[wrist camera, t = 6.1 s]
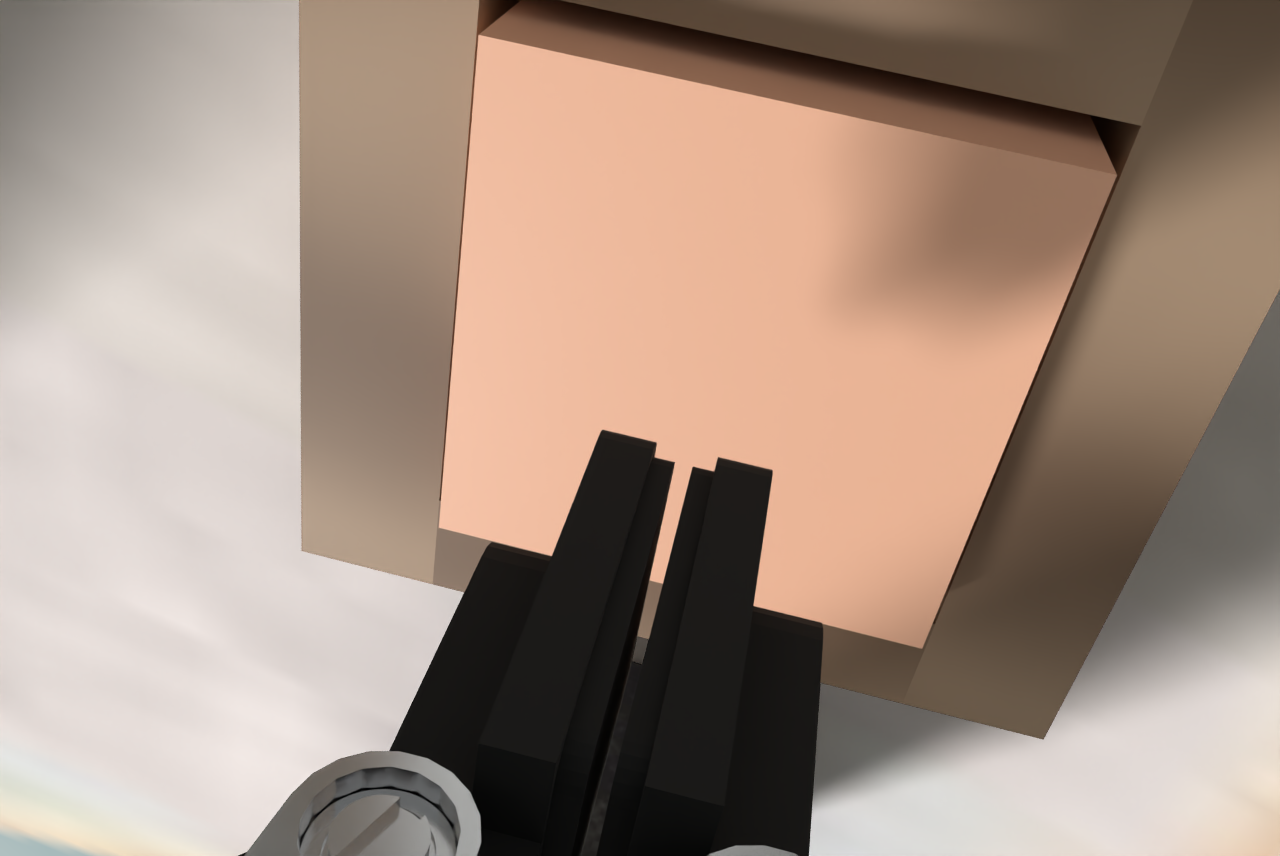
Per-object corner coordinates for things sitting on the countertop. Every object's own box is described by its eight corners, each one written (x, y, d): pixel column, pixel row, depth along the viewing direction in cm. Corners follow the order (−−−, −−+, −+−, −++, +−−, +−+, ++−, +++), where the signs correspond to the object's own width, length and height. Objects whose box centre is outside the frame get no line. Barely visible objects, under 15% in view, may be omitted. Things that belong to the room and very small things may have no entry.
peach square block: (917, 453, 20) (921, 648, 16) (530, 360, 21) (439, 528, 17) (1061, 53, 16) (1116, 175, 12) (582, -50, 17) (479, 34, 13)
